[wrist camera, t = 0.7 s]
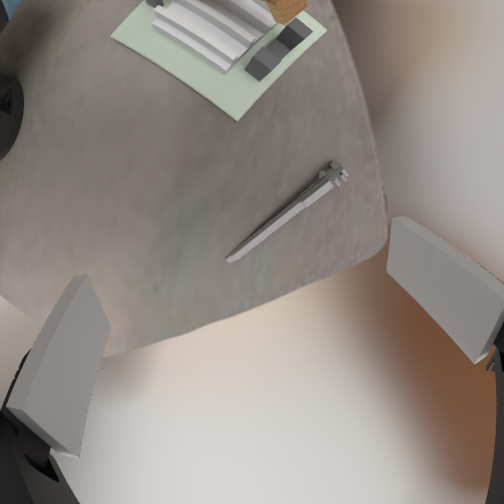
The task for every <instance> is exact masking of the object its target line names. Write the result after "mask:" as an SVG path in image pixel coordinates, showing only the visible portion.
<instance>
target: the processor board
mask: <svg viewBox="0 0 504 504" xmlns="http://www.w3.org/2000/svg"><path fill="white" fill-rule="evenodd" d="M326 31H327V30H326V29H325V28H324V27H323V26H322V25H320V24H319V23H318V22H317V21H316V20H315V19H313V18H312V17H311V16H310V15H308V14H307V13H306V12H305V11H302V12H300V13H299V14H298V15H297V16H296V17H294V18H293V19H292V20H291V21H290V22H289V23H287V24H286V25H285V26H284V25H282V24H279V23H277V22H275V21H274V18H273V16H272V14H271V12H270V9H269V7H268V5H267V3H266V2H264V1H261V0H144V1H143V2H142V3H141V4H140V5H138V6H137V7H136V8H135V10H134V11H133V12H132V13H131V14H130V15H129V16H128V17H127V18H126V19H125V20H124V21H123V22H122V23H121V24H120V25H119V27H118V28H117V29H116V30H115V31H114V32H113V33H112V35H111V37H112V38H113V39H114V40H116V41H118V42H120V43H121V44H123V45H125V46H127V47H128V48H130V49H132V50H133V51H135V52H137V53H138V54H140V55H142V56H143V57H145V58H147V59H148V60H150V61H151V62H153V63H155V64H156V65H158V66H159V67H161V68H162V69H164V70H165V71H167V72H169V73H170V74H172V75H173V76H175V77H176V78H178V79H179V80H180V81H182V82H183V83H185V84H186V85H188V86H189V87H191V88H192V89H193V90H195V91H196V92H198V93H199V94H200V95H202V96H203V97H205V98H206V99H207V100H209V101H210V102H211V103H213V104H214V105H216V106H217V107H218V108H220V109H221V110H222V111H224V112H225V113H226V114H227V115H229V116H230V117H231V118H233V119H234V120H235V121H238V120H239V119H240V118H241V117H242V116H243V115H244V114H245V112H246V111H247V110H248V109H249V108H250V107H251V106H252V105H253V104H254V102H255V101H256V100H257V99H258V98H259V97H260V96H261V95H262V94H263V93H264V92H265V91H266V90H267V88H268V87H269V86H270V85H271V84H272V83H273V82H274V81H275V80H276V79H277V78H278V77H279V76H280V75H281V74H282V73H283V72H284V71H285V70H286V69H287V68H288V67H289V66H290V65H291V64H292V63H293V62H294V61H295V60H296V59H297V58H298V57H299V56H300V55H301V54H302V53H303V52H304V51H305V50H306V49H308V48H309V47H310V46H311V45H312V44H313V43H314V42H315V41H316V40H317V39H318V38H319V37H321V36H322V35H323V34H324V33H325V32H326Z"/></svg>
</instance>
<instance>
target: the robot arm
mask: <svg viewBox="0 0 504 504" xmlns="http://www.w3.org/2000/svg"><path fill="white" fill-rule="evenodd" d="M22 1H23V0H0V33H1V32H2V30H3V29H4V27H5V26H6V24H7V23H9V22H10V20H11V18H12V15H13V14H14V12H15V11H16V9H17V8H18V6H19V5H20V4H21V2H22ZM22 114H23V93H22V89H21V85H20V83H19V81H18V80H17V78H16V77H15V76H14V75H12V74H11V73H8V72H0V160H1V159H2V158H3V157H4V156H5V155H6V154H7V153H8V151H9V150H10V149H11V147H12V145H13V143H14V141H15V139H16V137H17V134H18V131H19V128H20V125H21V120H22ZM387 272H388V273H389V274H390V275H391V276H392V277H393V278H394V279H395V280H396V281H397V282H398V283H399V284H400V285H401V286H402V287H403V288H404V289H405V290H406V291H407V292H408V293H409V294H410V295H411V296H412V297H413V298H414V299H415V300H416V301H417V302H418V303H419V304H420V305H421V306H422V307H423V308H424V309H425V310H426V311H427V312H428V313H429V314H430V315H431V316H432V317H433V318H434V319H435V321H436V322H437V323H438V324H439V325H440V326H441V327H442V328H443V329H444V330H445V331H446V332H447V333H448V335H449V336H450V337H451V338H452V339H453V340H454V341H455V342H456V344H457V345H458V346H459V347H460V348H461V349H462V350H463V352H464V353H465V354H466V355H467V356H468V357H469V358H470V360H471V361H472V362H473V363H474V364H476V363H477V362H478V361H480V360H481V359H483V358H484V357H485V356H487V354H488V352H489V350H490V348H491V346H492V345H493V344H494V345H495V346H496V347H497V348H496V350H495V352H494V354H493V355H492V357H491V359H490V360H489V362H488V364H487V365H486V370H488V369H489V368H490V366H491V365H492V363H493V362H494V363H495V364H494V365H493V367H492V369H491V371H495V375H496V393H497V394H496V395H497V396H496V397H497V419H496V438H495V450H494V458H493V466H492V473H491V479H490V485H489V489H488V494H487V498H486V503H485V504H504V283H503V282H501V281H500V280H499V279H498V278H496V277H494V275H493V274H491V273H490V272H488V271H487V270H486V269H485V268H483V267H482V266H481V265H479V264H478V263H476V262H475V261H473V260H472V259H470V258H469V257H468V256H466V255H465V254H463V253H462V252H461V251H459V250H457V249H456V248H455V247H453V246H452V245H450V244H449V243H447V242H446V241H444V240H443V239H441V238H440V237H438V236H437V235H435V234H433V233H432V232H430V231H429V230H427V229H426V228H424V227H423V226H421V225H419V224H418V223H416V222H414V221H412V220H411V219H409V218H408V217H406V216H401V217H395V218H392V226H391V237H390V247H389V255H388V263H387ZM110 328H111V325H110V323H109V321H108V319H107V317H106V315H105V313H104V311H103V308H102V306H101V304H100V302H99V300H98V298H97V296H96V294H95V291H94V289H93V287H92V285H91V282H90V280H89V278H88V275H82V276H77V277H73V278H72V279H71V281H70V282H69V284H68V286H67V287H66V289H65V290H64V292H63V293H62V295H61V297H60V298H59V300H58V302H57V303H56V305H55V307H54V308H53V310H52V312H51V313H50V315H49V317H48V319H47V320H46V322H45V324H44V326H43V327H42V329H41V331H40V333H39V335H38V337H37V339H36V341H35V342H34V344H33V347H32V348H31V349H30V350H29V351H28V353H27V354H26V355H25V356H24V358H23V359H22V362H21V364H20V366H19V370H17V372H16V374H15V379H13V381H12V383H11V386H10V388H9V391H8V393H7V395H6V398H5V400H4V403H3V406H2V408H1V410H0V504H80V503H79V501H78V500H77V498H76V497H75V495H74V493H73V492H72V490H71V488H70V486H69V485H68V483H67V481H66V479H65V478H64V476H63V474H62V472H61V470H60V468H59V466H58V464H57V462H56V460H55V459H54V457H53V456H52V455H51V454H49V453H50V448H53V449H54V450H55V451H57V452H58V453H60V454H61V455H63V456H68V457H75V458H79V457H80V450H81V444H82V438H83V432H84V427H85V423H86V418H87V413H88V408H89V404H90V399H91V395H92V391H93V387H94V383H95V379H96V375H97V372H98V368H99V364H100V361H101V357H102V354H103V351H104V347H105V344H106V341H107V337H108V334H109V331H110Z"/></svg>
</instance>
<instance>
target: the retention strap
mask: <svg viewBox="0 0 504 504" xmlns="http://www.w3.org/2000/svg"><path fill="white" fill-rule="evenodd" d="M261 1H264V2H266V3H267V5H268V7H269V9H270V12H271V14H272V16H273V18H274V21H275V22H277V23H279V24H282V25H284V26H285V25H286V24H287V23H289V22H290V21H291V20H292V19H293V18H294V17H296V16H297V15H298V14H299V13H300V12H302V11H303V10H304V9H305V8H307V7H308V6H307V2H306V0H261Z"/></svg>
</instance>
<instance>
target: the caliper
mask: <svg viewBox="0 0 504 504" xmlns="http://www.w3.org/2000/svg"><path fill="white" fill-rule="evenodd" d="M329 164H330V165H331V167H332V168H333V171H332V172H331V173H329V174H328V175H327V174H326V173H325V171H324V170H323V169H321V170H320V171H319V181H317V182H316V183H315V184H313V185H311V186H309V187H308V188H307V189H306V190H305V191H303V192H302V193H300V194H299V198H298V199H296V200H295V201H294V202H293V203H291V204H290V205H289V206H288V207H286V208H285V209H284V210H283V211H281V212H280V213H279V214H278V215H276V216H275V217H274V218H273V219H271V220H270V221H269V222H268V223H266V224H265V225H264V226H263V227H261V228H260V229H259V230H258V231H256V232H255V233H254V234H253V235H251V236H250V237H249V238H248V239H246V240H245V241H244V242H243V243H241V244H240V245H239V246H238V247H237V248H236V249H235V250H234V251H233V252H232V253H231V254H230V255H229V256H228V257H226V258H225V260H226V261H227V262H228V263H232V262H233V261H237V260H238V259H240V258H241V257H242V256H243V255H245V254H246V253H247V252H249V251H250V250H251V249H252V248H254V247H255V246H256V245H257V244H259V243H260V242H261V241H263V240H264V239H265V238H266V237H268V236H269V235H270V234H271V233H273V232H274V231H275V230H277V229H278V228H279V227H280V226H282V225H283V224H284V223H285V222H287V221H288V220H289V219H291V218H292V217H293V216H294V215H296V214H297V213H298V212H300V211H301V210H302V209H303V208H305V207H306V208H307V207H308V206H310V205H311V204H312V203H313V202H315V201H316V200H317V199H319V198H320V197H321V196H323V195H324V194H325V193H326V192H328V191H329V190H330V189H332V188H333V187H334V184H337V185H338V187H340V184H341V181H340V180H342V181H344V182H345V181H347V180H346V178H345V177H346V176H348V174H347V172H346V171H345V169H344V168H343V166H342V165H341V164H340V163H337V162H334V161H331V162H329Z"/></svg>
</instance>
